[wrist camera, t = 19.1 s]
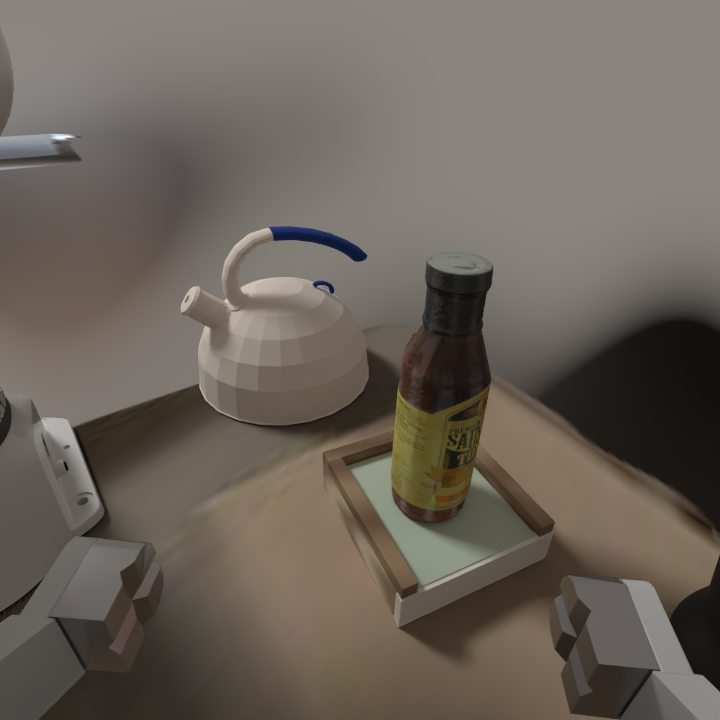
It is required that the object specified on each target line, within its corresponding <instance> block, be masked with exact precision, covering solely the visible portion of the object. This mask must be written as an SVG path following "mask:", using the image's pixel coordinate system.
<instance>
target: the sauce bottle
mask: <svg viewBox="0 0 720 720" xmlns="http://www.w3.org/2000/svg"><path fill="white" fill-rule="evenodd" d="M492 275H493V265H492V264H491V262H490V261H488V260H487V259H485V258H483V257H481V256H478V255H475V254H471V253H464V252H443V253H438V254H435V255H432V256H431V257H430V258H429V259H428V260H427V265H426V275H425V280H426V284H427V293H426V303H425V311H424V313H423V317H422V318H423V325H422V326H421V327H420V329H419V331H418V332H417V333H415V334H413V335H412V338H411V339H410V341H409V342H408V344H407V345H406V348H405V351H404V354H403V357H402V366H401V378H400V381H399V385H398V394H397V406H396V417H395V429H394V440H393V451H392V464H391V484H392V496H393V499H394V502H395V504H396V505H397V506H398V508H399V509H400V511H402V512H403V513H404V514H406V515H407V516H409V517H412V518H413V519H415V520H419V521H422V522H426V523H431V522H432V523H435V522H442V521H445V520H447V519H450V518H452V517H453V516H455V515H456V514H458V512H459V511H460V510H461V509H462V508H463V505H464V503H465V499H466V497H467V495H468V493H469V490H470V484H471V479H472V474H473V469H474V464H475V459H476V454H477V449H478V445H479V440H480V434H481V430H482V425H483V420H484V414H485V409H486V404H487V399H488V394H489V389H490V384H491V374H490V370H489V365H488V360H487V355H486V350H485V344H484V340H483V335H482V330H481V329H482V327H483V321H482V317H483V311H484V305H485V299H486V294H487V291H488V290H489V288H490V287H491V284H492Z"/></svg>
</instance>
